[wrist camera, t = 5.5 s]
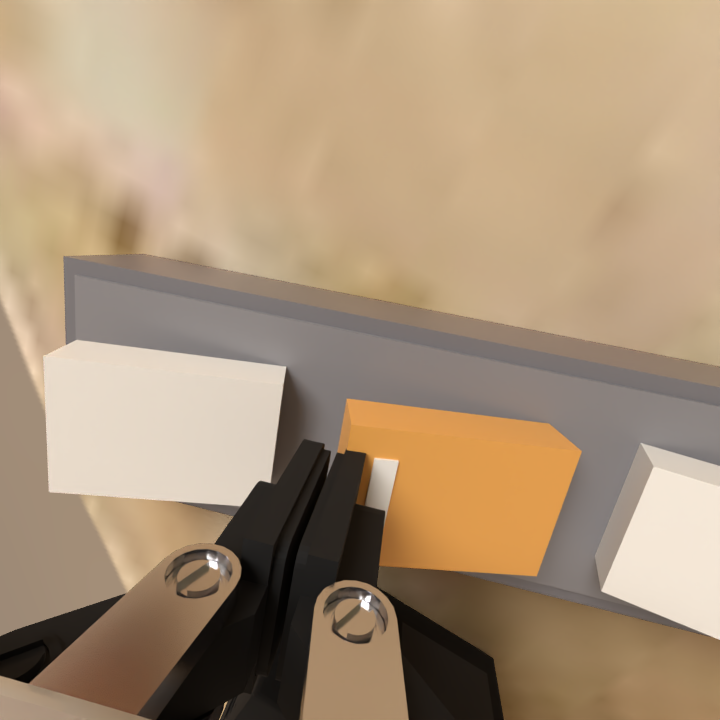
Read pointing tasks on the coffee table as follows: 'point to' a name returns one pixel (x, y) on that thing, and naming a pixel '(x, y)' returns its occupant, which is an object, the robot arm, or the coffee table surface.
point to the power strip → (416, 381)
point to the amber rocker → (459, 485)
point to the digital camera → (428, 657)
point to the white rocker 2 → (666, 540)
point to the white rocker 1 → (159, 423)
